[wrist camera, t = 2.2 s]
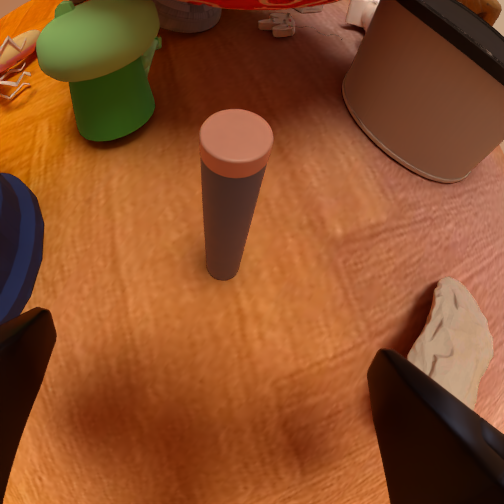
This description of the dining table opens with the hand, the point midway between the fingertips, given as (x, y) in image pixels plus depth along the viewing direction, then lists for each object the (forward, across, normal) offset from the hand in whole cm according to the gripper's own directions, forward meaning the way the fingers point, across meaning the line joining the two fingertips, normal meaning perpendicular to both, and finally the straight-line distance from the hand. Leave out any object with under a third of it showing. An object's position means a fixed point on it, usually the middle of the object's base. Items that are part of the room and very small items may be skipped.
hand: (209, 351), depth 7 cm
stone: (+13, -21, +5) cm, 25 cm away
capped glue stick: (+13, 0, +4) cm, 14 cm away
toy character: (+25, +12, -7) cm, 29 cm away
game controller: (+36, -6, -19) cm, 42 cm away
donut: (+33, +39, -17) cm, 54 cm away
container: (+27, -19, -10) cm, 35 cm away
